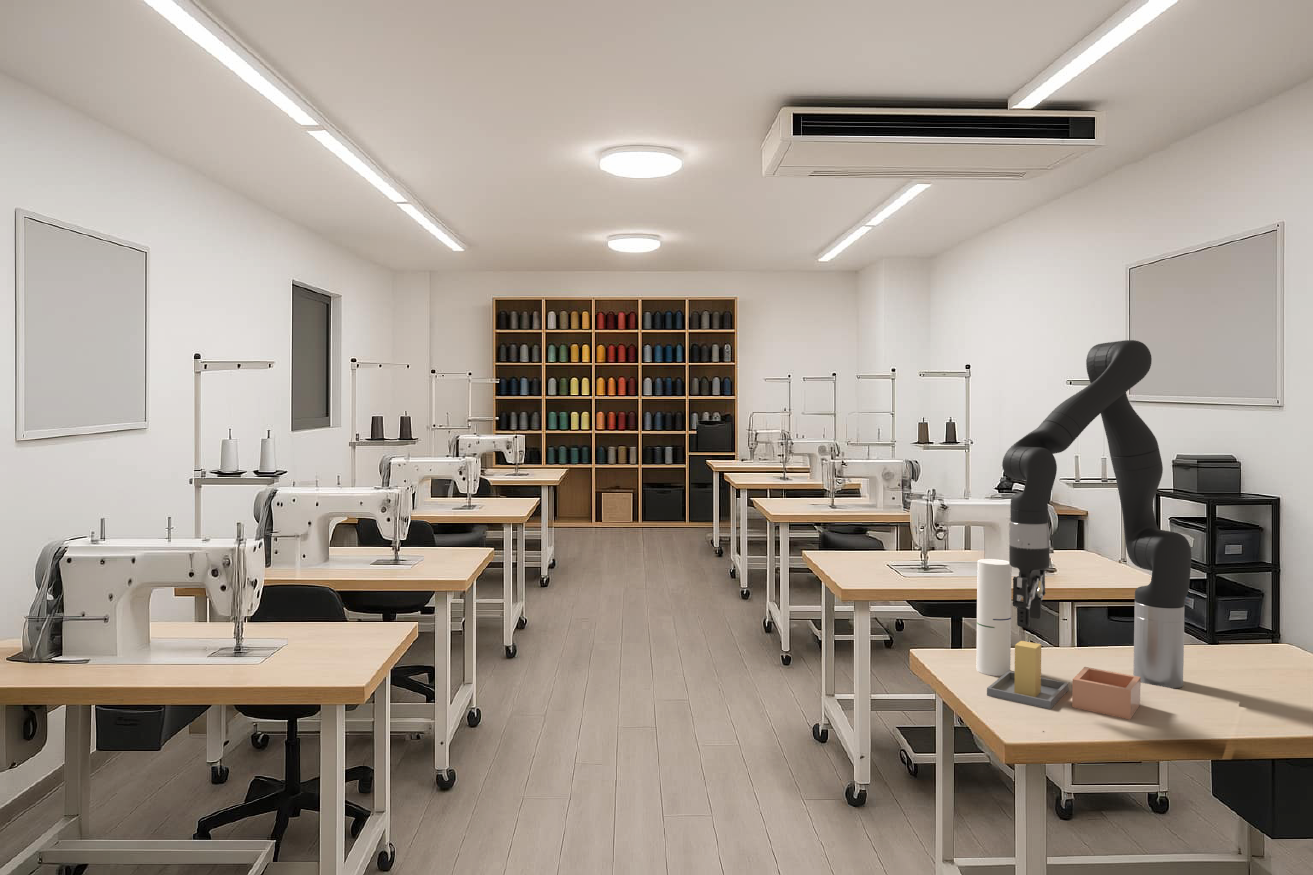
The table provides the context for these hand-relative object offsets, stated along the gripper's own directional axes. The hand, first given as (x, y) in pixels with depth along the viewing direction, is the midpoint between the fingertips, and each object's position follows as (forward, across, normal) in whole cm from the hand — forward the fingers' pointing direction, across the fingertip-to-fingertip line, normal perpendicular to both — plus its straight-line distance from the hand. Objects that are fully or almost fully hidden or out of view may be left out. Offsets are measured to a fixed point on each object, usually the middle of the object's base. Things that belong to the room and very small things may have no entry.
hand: (1029, 622), depth 166 cm
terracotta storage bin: (+16, +2, -14) cm, 21 cm away
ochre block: (+15, 0, 0) cm, 15 cm away
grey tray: (+16, 0, 0) cm, 16 cm away
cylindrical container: (+16, +13, +11) cm, 23 cm away
